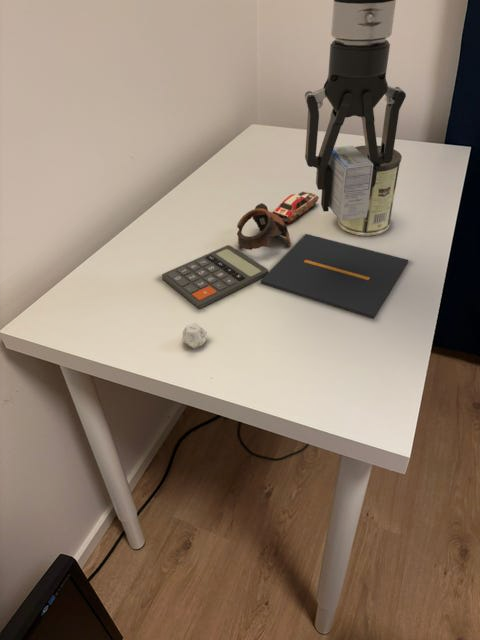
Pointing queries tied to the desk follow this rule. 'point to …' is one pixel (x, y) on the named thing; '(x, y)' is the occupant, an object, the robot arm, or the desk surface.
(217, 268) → the calculator
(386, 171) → the coffee can
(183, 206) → the desk surface
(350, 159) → the medicine box
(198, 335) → the game die
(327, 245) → the mat
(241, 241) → the brown looped frame
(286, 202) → the race car
